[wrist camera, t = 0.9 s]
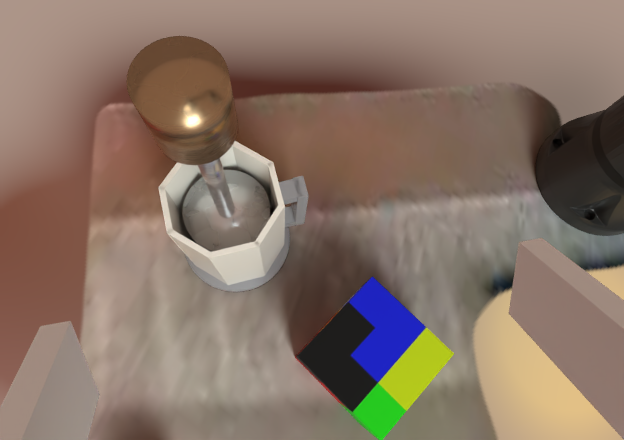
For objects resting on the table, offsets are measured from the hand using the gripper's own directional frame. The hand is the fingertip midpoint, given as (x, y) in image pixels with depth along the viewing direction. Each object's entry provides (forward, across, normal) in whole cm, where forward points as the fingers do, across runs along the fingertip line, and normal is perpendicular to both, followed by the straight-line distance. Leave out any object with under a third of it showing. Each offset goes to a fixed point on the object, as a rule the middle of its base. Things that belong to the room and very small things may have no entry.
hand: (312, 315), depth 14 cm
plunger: (+30, -3, -10) cm, 32 cm away
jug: (+38, -3, -18) cm, 41 cm away
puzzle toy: (+27, +8, -28) cm, 40 cm away
